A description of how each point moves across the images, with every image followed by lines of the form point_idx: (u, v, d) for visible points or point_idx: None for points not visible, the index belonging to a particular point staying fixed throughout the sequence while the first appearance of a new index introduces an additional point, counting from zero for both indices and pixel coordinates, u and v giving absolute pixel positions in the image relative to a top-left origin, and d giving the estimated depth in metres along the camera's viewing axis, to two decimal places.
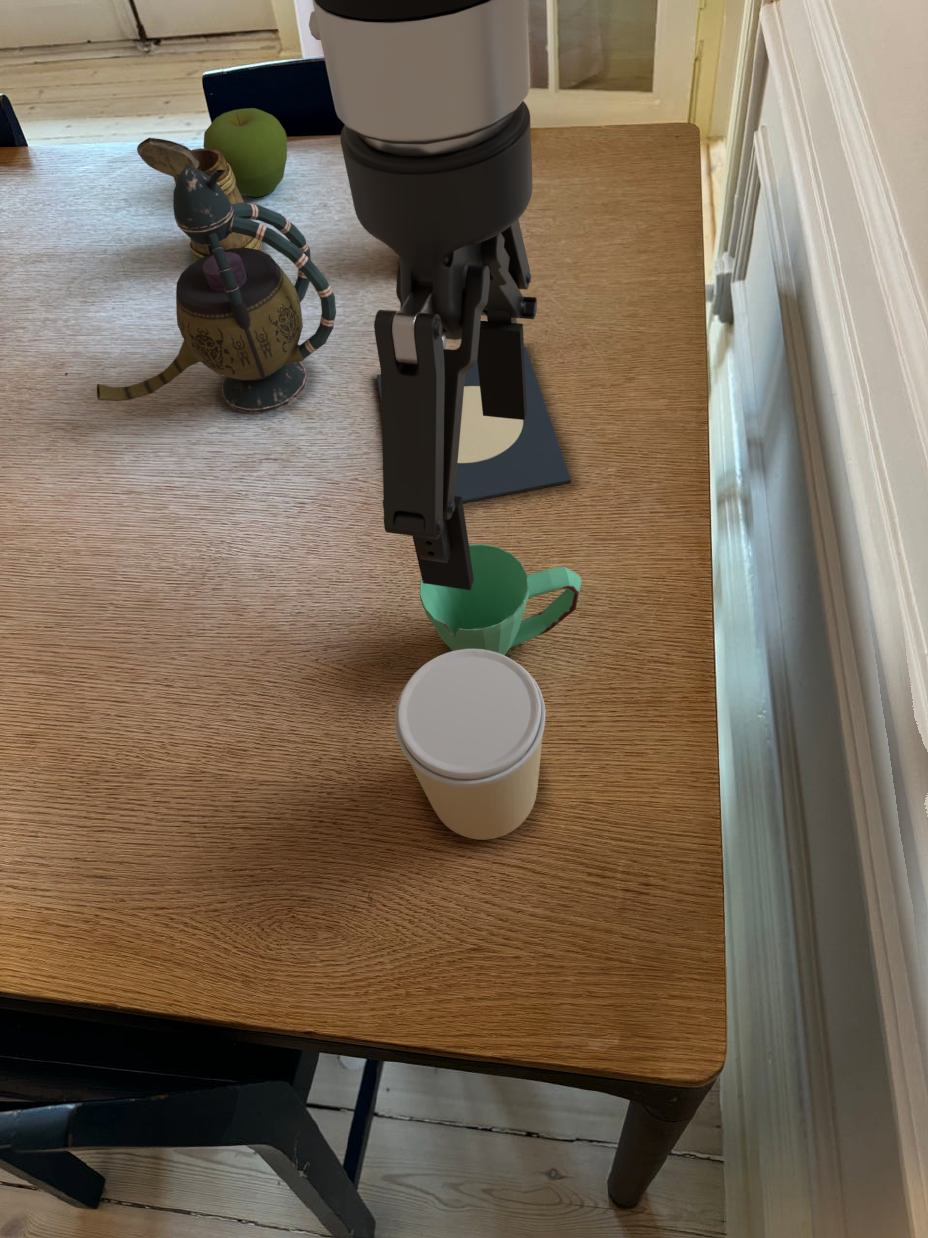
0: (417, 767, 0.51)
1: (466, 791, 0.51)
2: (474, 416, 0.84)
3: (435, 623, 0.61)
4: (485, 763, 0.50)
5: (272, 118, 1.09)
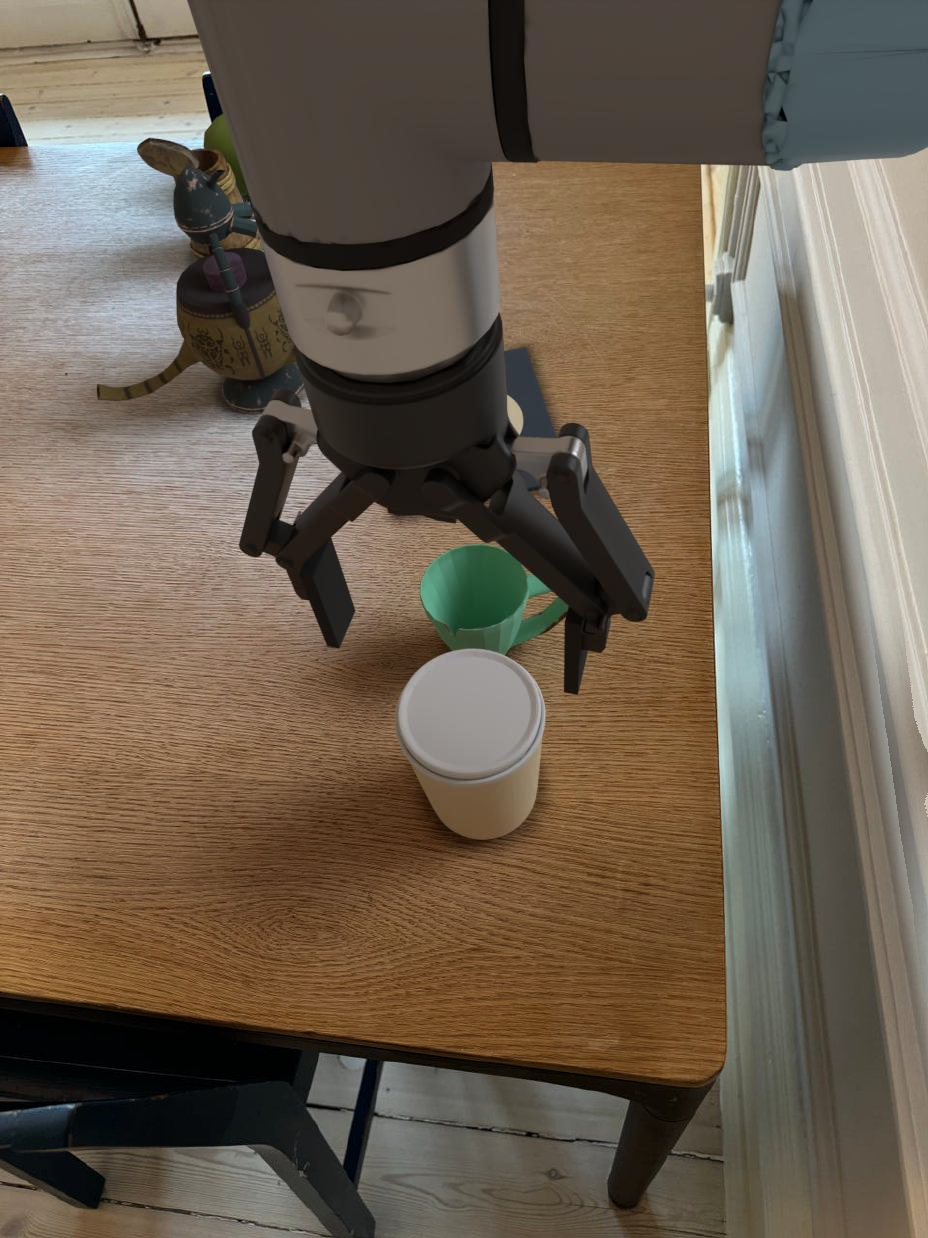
0: (417, 767, 0.51)
1: (466, 791, 0.51)
2: None
3: (435, 623, 0.61)
4: (485, 763, 0.50)
5: None
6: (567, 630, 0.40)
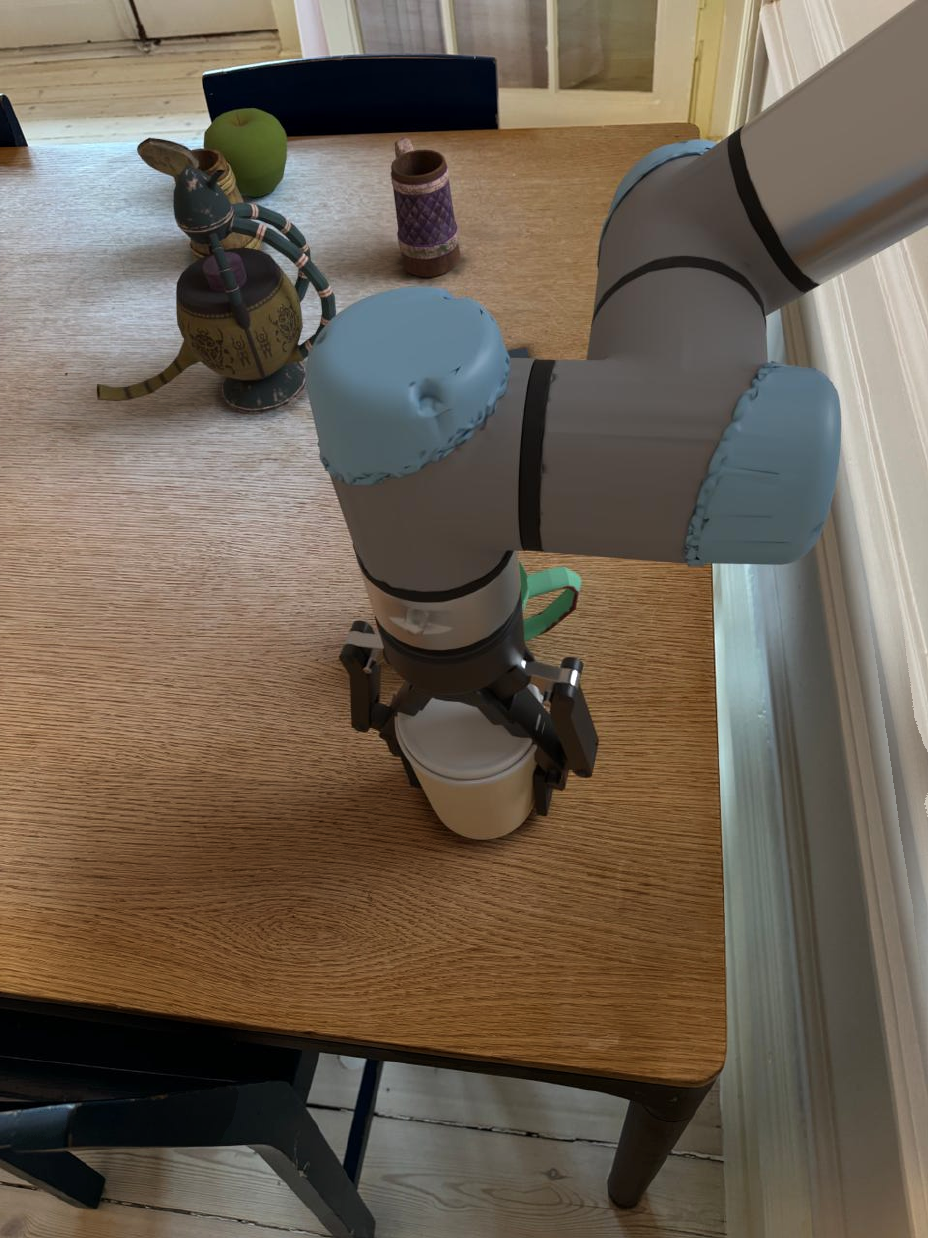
0: (417, 767, 0.51)
1: (466, 791, 0.51)
2: None
3: None
4: (485, 763, 0.50)
5: (272, 118, 1.09)
6: (535, 779, 0.54)
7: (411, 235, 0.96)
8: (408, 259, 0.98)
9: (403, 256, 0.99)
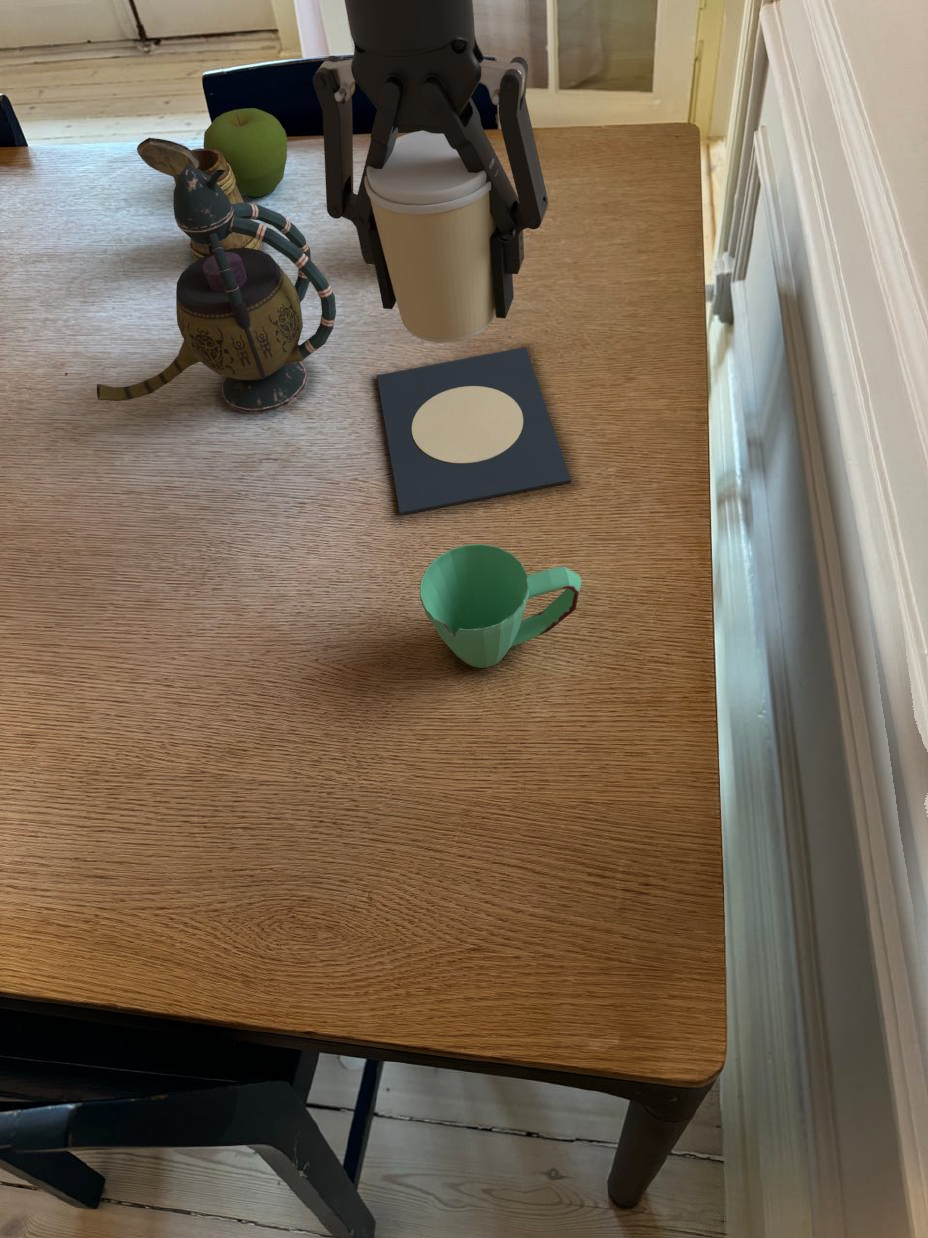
0: (384, 202, 0.57)
1: (428, 229, 0.57)
2: (474, 416, 0.84)
3: (435, 623, 0.61)
4: (444, 188, 0.56)
5: (272, 118, 1.09)
6: (492, 246, 0.61)
7: None
8: None
9: None
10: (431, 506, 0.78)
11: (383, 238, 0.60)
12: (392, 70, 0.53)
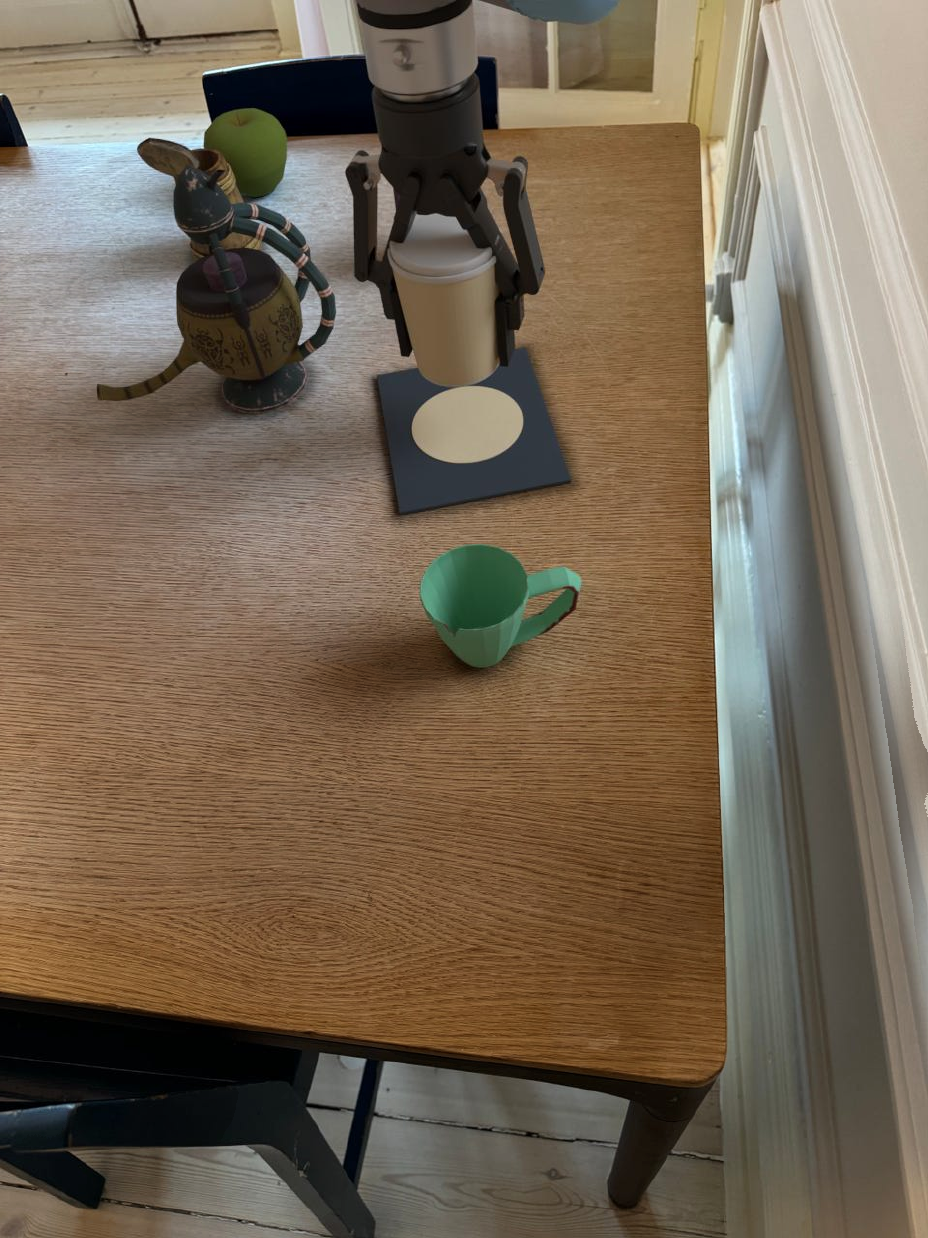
0: (404, 273, 0.67)
1: (442, 295, 0.67)
2: (474, 416, 0.84)
3: (435, 623, 0.61)
4: (456, 262, 0.66)
5: (272, 118, 1.09)
6: (497, 308, 0.70)
7: None
8: None
9: None
10: (431, 506, 0.78)
11: (403, 300, 0.70)
12: (413, 166, 0.63)
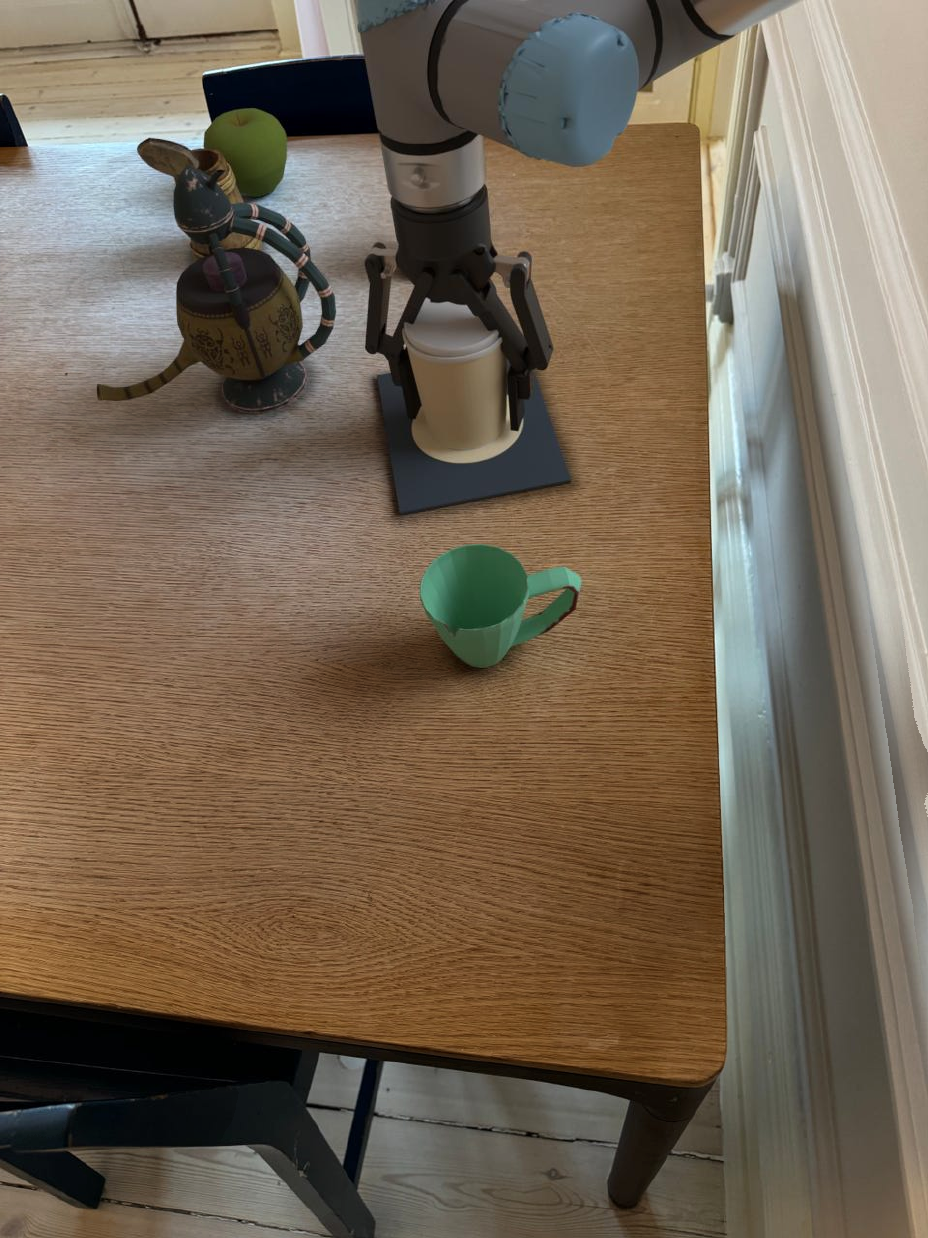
0: (418, 353, 0.73)
1: (452, 373, 0.73)
2: None
3: (435, 623, 0.61)
4: (465, 344, 0.72)
5: (272, 118, 1.09)
6: (508, 381, 0.76)
7: None
8: None
9: None
10: (431, 506, 0.78)
11: (416, 375, 0.76)
12: (427, 262, 0.69)
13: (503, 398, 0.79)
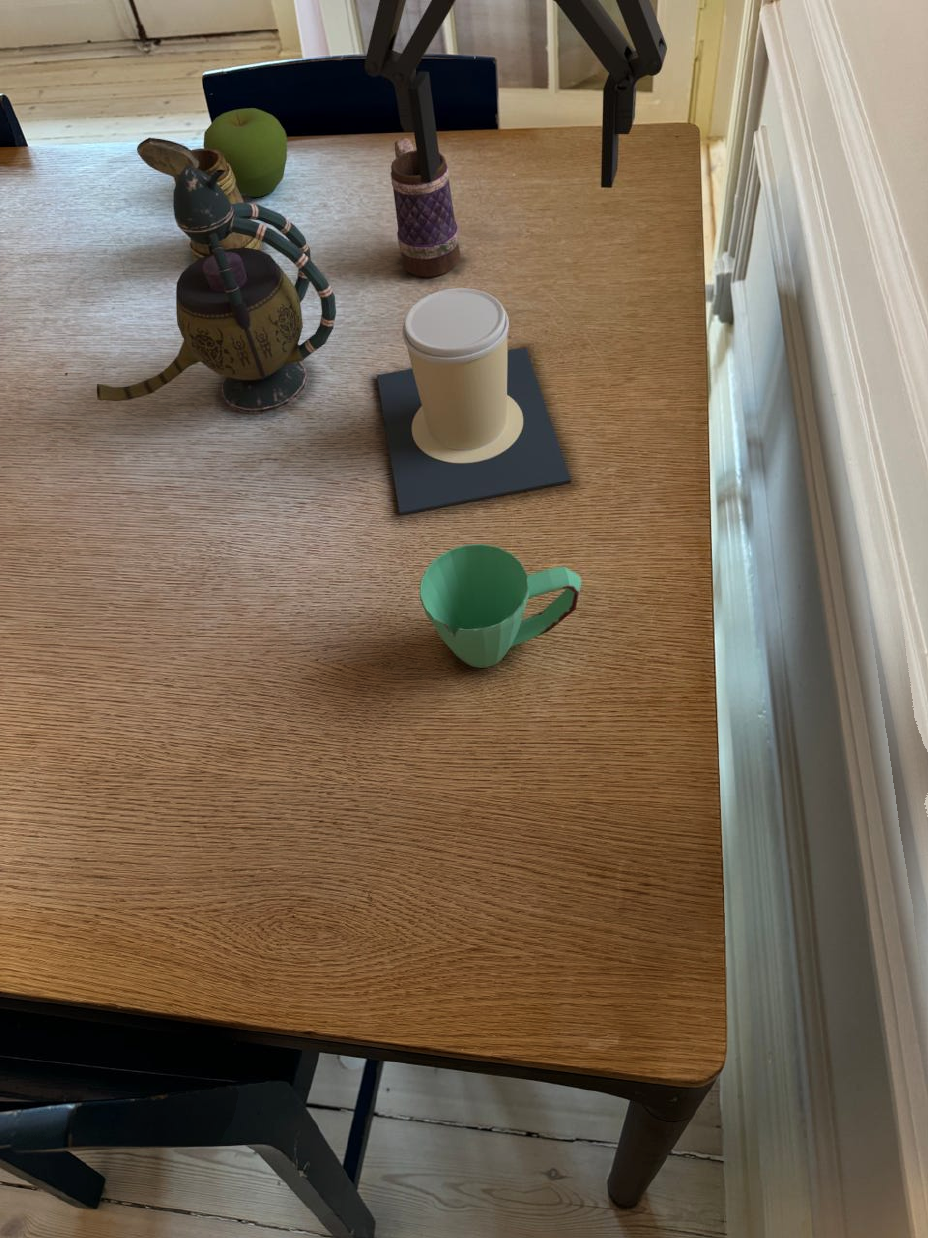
0: (418, 353, 0.73)
1: (452, 373, 0.73)
2: None
3: (435, 623, 0.61)
4: (465, 344, 0.72)
5: (272, 118, 1.09)
6: (605, 99, 0.56)
7: (411, 235, 0.96)
8: (408, 259, 0.98)
9: (403, 256, 0.99)
10: (431, 506, 0.78)
11: (416, 375, 0.76)
12: None
13: (503, 398, 0.79)
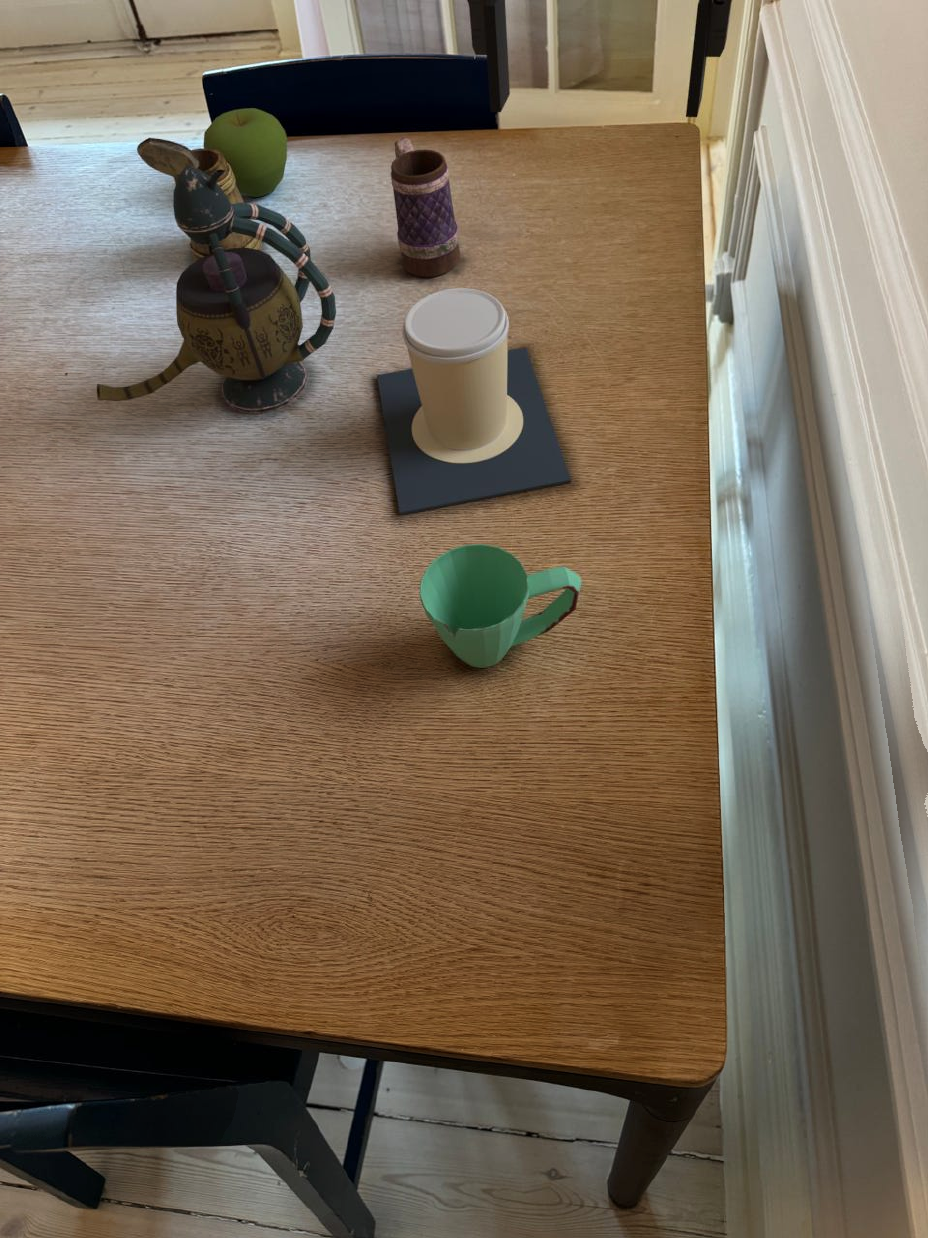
0: (418, 353, 0.73)
1: (452, 373, 0.73)
2: None
3: (435, 623, 0.61)
4: (465, 344, 0.72)
5: (272, 118, 1.09)
6: (698, 16, 0.53)
7: (411, 235, 0.96)
8: (408, 259, 0.98)
9: (403, 256, 0.99)
10: (431, 506, 0.78)
11: (416, 375, 0.76)
12: None
13: (503, 398, 0.79)
